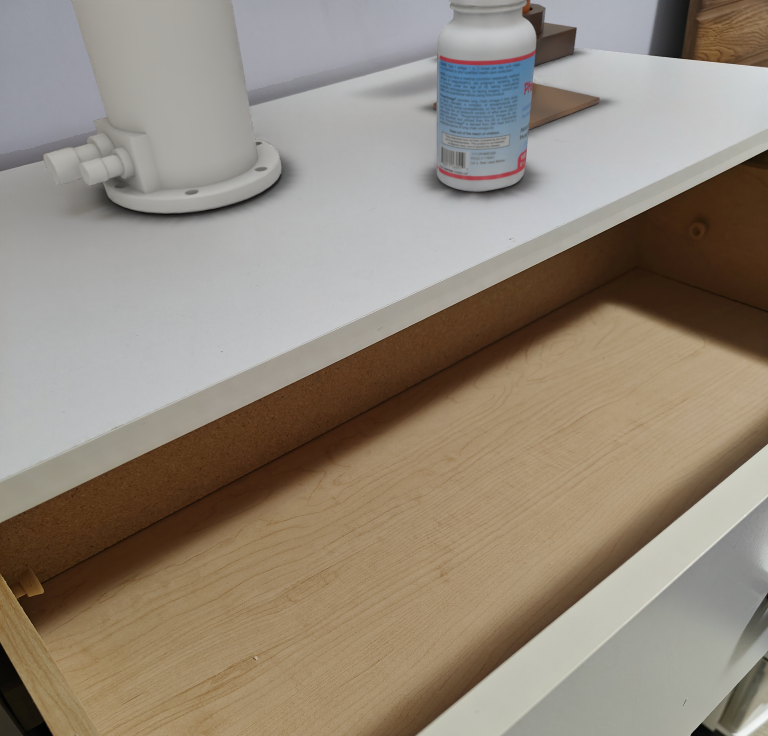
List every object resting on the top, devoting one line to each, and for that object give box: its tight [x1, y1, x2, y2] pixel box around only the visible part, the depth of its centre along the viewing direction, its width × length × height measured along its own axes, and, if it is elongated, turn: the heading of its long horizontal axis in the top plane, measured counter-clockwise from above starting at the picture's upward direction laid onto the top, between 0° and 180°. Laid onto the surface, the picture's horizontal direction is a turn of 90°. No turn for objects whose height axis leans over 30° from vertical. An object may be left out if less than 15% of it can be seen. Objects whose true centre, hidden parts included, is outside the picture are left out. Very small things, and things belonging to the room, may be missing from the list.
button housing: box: [522, 2, 578, 67], centre depth 68 cm, size 10×9×4 cm
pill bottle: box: [435, 0, 536, 192], centre depth 43 cm, size 6×6×11 cm
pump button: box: [522, 0, 531, 13], centre depth 66 cm, size 4×4×2 cm
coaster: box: [432, 82, 601, 130], centre depth 58 cm, size 10×10×1 cm
